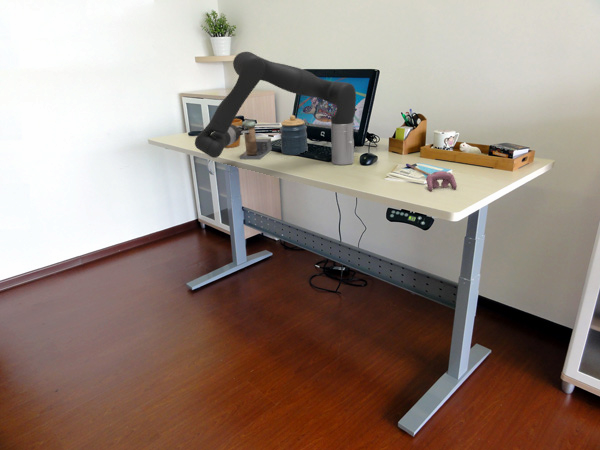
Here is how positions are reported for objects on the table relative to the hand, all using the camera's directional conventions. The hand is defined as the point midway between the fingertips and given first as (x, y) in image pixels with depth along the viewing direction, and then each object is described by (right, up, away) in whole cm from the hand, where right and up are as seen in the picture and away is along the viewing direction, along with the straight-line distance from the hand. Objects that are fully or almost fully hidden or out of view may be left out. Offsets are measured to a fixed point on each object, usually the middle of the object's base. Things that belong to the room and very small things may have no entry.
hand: (242, 127), depth 183 cm
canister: (+23, -8, +18) cm, 30 cm away
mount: (+4, -9, +18) cm, 21 cm away
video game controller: (+75, -31, -38) cm, 89 cm away
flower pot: (-11, -1, +37) cm, 39 cm away
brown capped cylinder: (+3, -10, +12) cm, 16 cm away
